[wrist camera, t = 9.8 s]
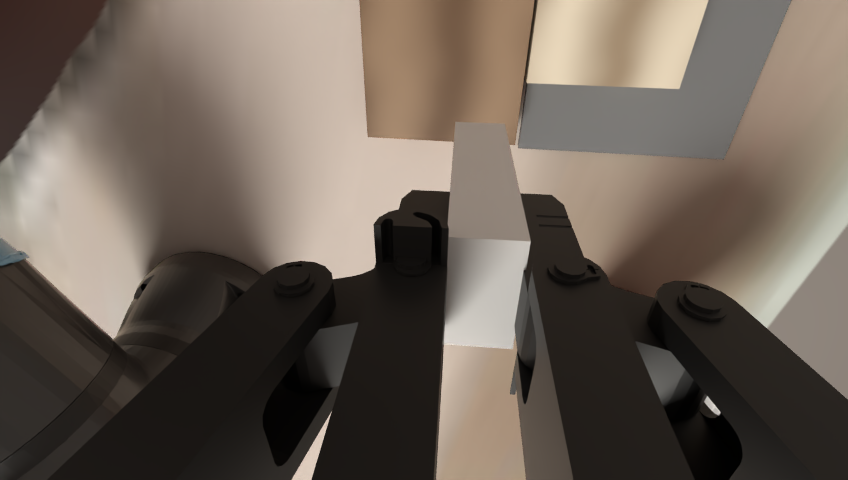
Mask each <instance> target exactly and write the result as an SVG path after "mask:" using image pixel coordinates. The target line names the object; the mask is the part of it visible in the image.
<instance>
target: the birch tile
mask: <svg viewBox="0 0 848 480" xmlns="http://www.w3.org/2000/svg"><path fill="white" fill-rule="evenodd" d="M707 3H708V0H535V1H534V8H533V16H532V23H531V30H530V38H529V45H528V52H527V60H526V67H525V74H524V77H525V80H526V83H536V84H562V85H588V86H613V87H639V88H664V89H679V88H680V85H681V82H682V79H683V76H684V73H685V70H686V67H687V64H688V61H689V58H690V55H691V52H692V49H693V46H694V43H695V40H696V37H697V34H698V31H699V28H700V25H701V22H702V19H703V16H704V13H705V10H706V6H707Z"/></svg>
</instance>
